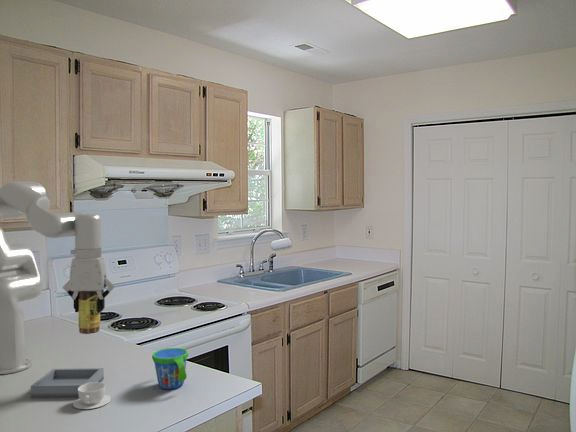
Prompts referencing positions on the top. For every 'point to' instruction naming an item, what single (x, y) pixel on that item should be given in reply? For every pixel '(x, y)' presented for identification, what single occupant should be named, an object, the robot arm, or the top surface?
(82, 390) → the teacup
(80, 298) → the sauce bottle
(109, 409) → the top surface
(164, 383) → the snack cup
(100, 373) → the tray
